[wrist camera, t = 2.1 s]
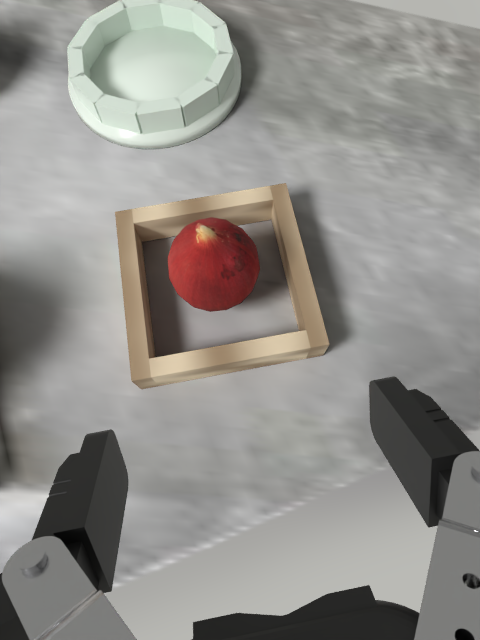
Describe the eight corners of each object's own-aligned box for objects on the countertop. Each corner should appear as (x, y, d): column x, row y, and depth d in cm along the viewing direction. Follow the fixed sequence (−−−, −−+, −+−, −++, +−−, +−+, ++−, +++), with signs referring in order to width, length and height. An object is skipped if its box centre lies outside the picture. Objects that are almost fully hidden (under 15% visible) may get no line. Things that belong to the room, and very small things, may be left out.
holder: (283, 203, 34) (285, 183, 31) (323, 355, 29) (329, 344, 27) (124, 231, 33) (115, 212, 31) (141, 389, 29) (131, 380, 26)
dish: (225, 12, 41) (223, -22, 39) (256, 133, 36) (256, 103, 33) (68, 36, 41) (55, 3, 38) (76, 162, 36) (61, 134, 33)
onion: (252, 249, 32) (252, 179, 25) (264, 321, 30) (268, 267, 23) (174, 259, 32) (151, 192, 25) (181, 332, 30) (158, 282, 23)
